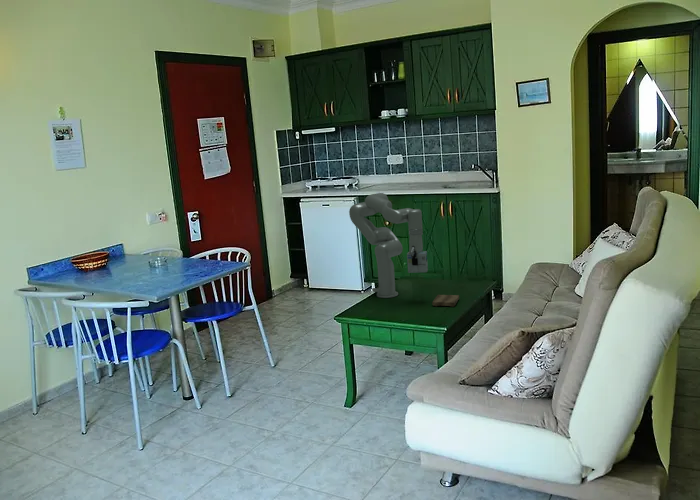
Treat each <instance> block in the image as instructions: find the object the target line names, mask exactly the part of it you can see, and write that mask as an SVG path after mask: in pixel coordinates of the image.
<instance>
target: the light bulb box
mask: <svg viewBox="0 0 700 500" xmlns="http://www.w3.org/2000/svg"><path fill="white" fill-rule="evenodd" d="M415 256H416V254H415ZM411 257H412V256H411V253H409V251H408V252H407V253H406V259H407V260H406V262H407V273H409V274H412V273H414V274H415V273H416V274H417V273H428V270H429V267H428V252H427V250H425V251H424V250H422V251H421V252H419V253H417V258H418V265H412V258H411Z"/></svg>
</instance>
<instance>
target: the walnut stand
mask: <svg viewBox="0 0 700 500" xmlns="http://www.w3.org/2000/svg"><path fill="white" fill-rule="evenodd" d="M459 300H460V295H459V294H454V295H453V294H437V296H435V298H434V299H433V301H432V303H431V305H432V306H433V307H438V306H439V307H440V306H441V307H442V306H443V307H446V306H447V307H450V308H451V307H452V308H455V306H456V305H457V303H458V301H459Z"/></svg>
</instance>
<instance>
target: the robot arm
mask: <svg viewBox="0 0 700 500" xmlns="http://www.w3.org/2000/svg"><path fill="white" fill-rule="evenodd" d="M348 213H349V219H350V221H351V223H352V224H353V225H354V226H355V228H357V229H358V230H359V231H360V233H361V234H362V235H363V236H364V238H365V239H366V240H367V242H368V243H369V244H370V245H372V246H375V247H374V254H375V255H374V256H375V258H376V263H377V264H376V266H377V279H378V280H377V281H378V287H377V288H376V287H374V288H373V287H372V290H371V291H372V292H373V293H376V297H377V298H382V299H389V298H390V299H391V298H396V297H397V296H399V292H398V291H396V280H395V278H396V277H395V265H394V262H393V260H392V258H394V257H397V256H399V255H401V254H402V253H403V249H404V248H403V244H402V243H401V241H400V240H399V238H398V237H397V236H396V235H395V234H394V232H393V231H392V229H390V228H389V227H385V226H382V227H377V226H375V225H374V223H373V222H372V221H371V220H369V219H368V218H366V217H370V216H373V215H375V214H377V213H380V214H382V215H381V216H382V217H383V218H384V220H385V221H388V222H390V223H391V224H397V225H398V224H402V223H407V226H408V236H409V237H408V239H409V241H408V246H409V248H408V250H409V251H408V252H409V253H411V256H412V257H411V258H412V265H418V258H417V253H419V252H421V251H424V249H423V247H424V244H423V235H424V233H423V231H424V230H423V229H424V228H423V215H422V214H423V212H422V210H421V209H420V208H410V207H406V208H399V209H394V208H393V203H392V201H391V200H389V197H388V196H387V194H386V193H383V192H378V193H372V194H369V195H367V196H366V197H365V198H364V201H363V202H362V201H361V202H358V203H354V204H352V205H351V206H350V208H349V211H348ZM415 254H416V256H415Z"/></svg>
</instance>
